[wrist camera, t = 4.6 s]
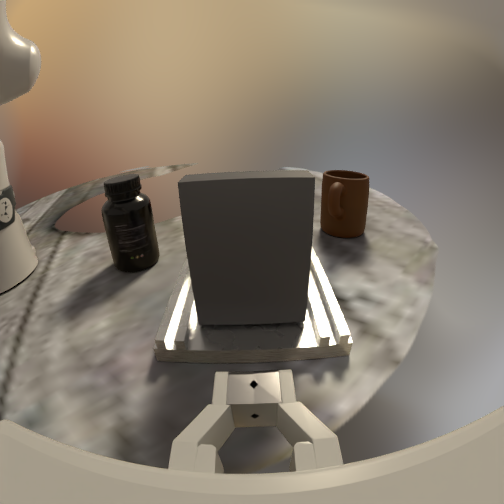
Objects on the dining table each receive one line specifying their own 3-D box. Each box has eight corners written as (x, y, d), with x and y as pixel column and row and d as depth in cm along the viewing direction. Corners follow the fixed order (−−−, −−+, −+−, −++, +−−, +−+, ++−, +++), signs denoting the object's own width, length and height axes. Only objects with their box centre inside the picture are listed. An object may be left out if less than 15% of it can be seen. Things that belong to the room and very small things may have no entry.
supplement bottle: (113, 258, 39) (96, 180, 34) (155, 247, 42) (143, 169, 37) (116, 279, 34) (95, 188, 28) (165, 265, 37) (151, 176, 31)
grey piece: (157, 360, 22) (130, 274, 18) (193, 253, 40) (186, 194, 36) (349, 355, 22) (369, 266, 18) (308, 249, 40) (311, 190, 36)
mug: (354, 255, 38) (361, 188, 34) (303, 244, 41) (306, 180, 37) (367, 226, 47) (372, 173, 43) (327, 219, 50) (329, 168, 46)
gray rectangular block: (198, 324, 23) (177, 182, 18) (207, 283, 29) (195, 166, 24) (305, 321, 23) (314, 177, 18) (295, 280, 29) (298, 162, 24)
